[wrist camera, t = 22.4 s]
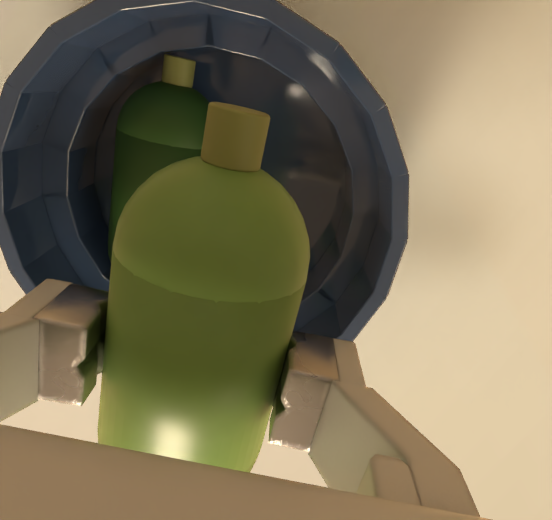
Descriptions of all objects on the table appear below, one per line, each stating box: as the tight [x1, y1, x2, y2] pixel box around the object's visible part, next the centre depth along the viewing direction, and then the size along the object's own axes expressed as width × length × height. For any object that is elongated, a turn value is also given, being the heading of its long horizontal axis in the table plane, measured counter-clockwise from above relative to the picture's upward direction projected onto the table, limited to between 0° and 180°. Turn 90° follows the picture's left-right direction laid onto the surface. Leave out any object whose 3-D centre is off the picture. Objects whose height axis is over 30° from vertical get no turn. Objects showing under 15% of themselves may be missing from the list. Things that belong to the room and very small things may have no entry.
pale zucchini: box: [98, 102, 310, 473], centre depth 9 cm, size 9×4×4 cm, turn 168°
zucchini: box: [108, 54, 209, 262], centre depth 19 cm, size 10×4×4 cm, turn 168°
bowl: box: [0, 0, 409, 342], centre depth 19 cm, size 15×15×6 cm
